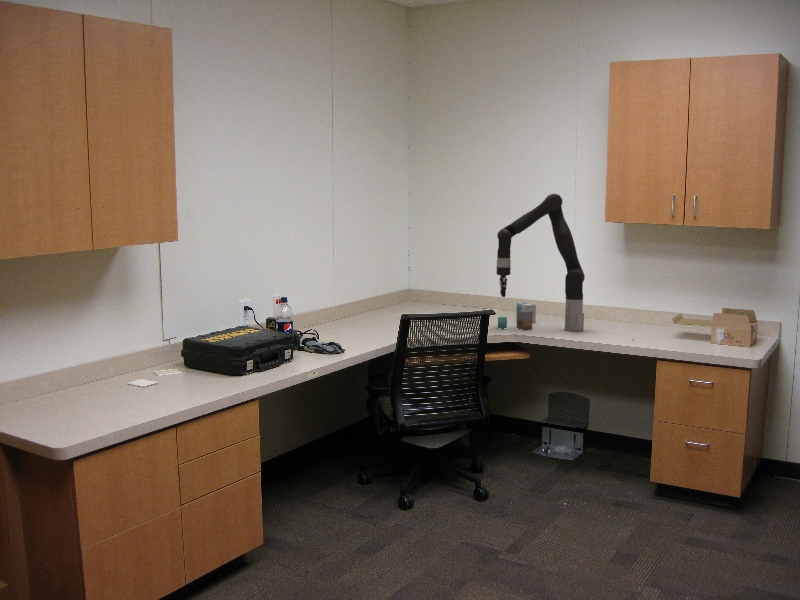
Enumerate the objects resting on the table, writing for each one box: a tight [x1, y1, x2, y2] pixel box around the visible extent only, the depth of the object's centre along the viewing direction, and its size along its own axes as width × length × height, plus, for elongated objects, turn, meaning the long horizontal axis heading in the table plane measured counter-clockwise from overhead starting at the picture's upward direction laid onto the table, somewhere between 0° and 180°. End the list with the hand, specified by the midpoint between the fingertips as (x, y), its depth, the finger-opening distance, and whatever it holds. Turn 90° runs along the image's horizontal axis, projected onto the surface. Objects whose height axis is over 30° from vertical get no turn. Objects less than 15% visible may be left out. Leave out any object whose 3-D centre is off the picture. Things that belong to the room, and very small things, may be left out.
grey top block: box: [516, 310, 533, 321], centre depth 441 cm, size 6×6×5 cm
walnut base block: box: [516, 320, 533, 331], centre depth 442 cm, size 6×6×5 cm
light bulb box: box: [515, 301, 537, 324], centre depth 462 cm, size 11×7×11 cm, turn 25°
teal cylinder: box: [497, 316, 508, 330], centre depth 443 cm, size 5×5×6 cm
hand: (502, 295), depth 441 cm, fingers open, 8 cm apart
